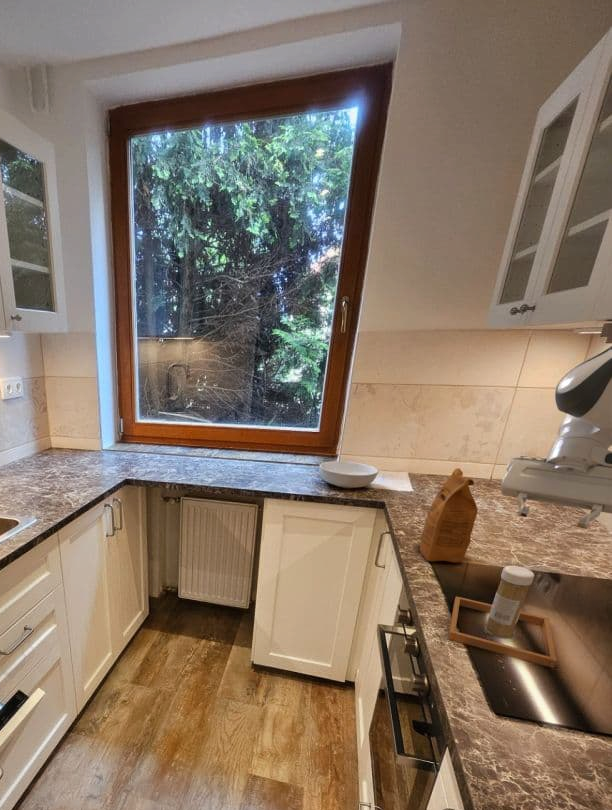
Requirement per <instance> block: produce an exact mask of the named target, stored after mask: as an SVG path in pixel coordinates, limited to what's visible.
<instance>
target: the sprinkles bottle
mask: <svg viewBox="0 0 612 810" xmlns="http://www.w3.org/2000/svg"><path fill="white" fill-rule="evenodd" d="M534 578H535V573H534V572H533V571H532V570H530V569H529V568H526V567H523V566H517V565H507V566H504V567H503V569H502V572H501V574H500V581H499V584H498V587H497V590H496V592H495V595H494V598H493V602H492V604H491V605H492V607H491V610H490V613H488V618H487V621H486V623H485V625H484V627H483V629H484V631H485V632H486V633H488V634H489V635H490V636H493V637H495V638H500V639H512V638H513V636H514V635H513V633H514V631H515V628H516V625H517V623H518V622H519V620H518V618H519V616H520V613H521V612H522V610H523V609H522V608H523V605H524V603H525V600H526V598H527V594H528V591H529V588H530V587H531V585H532V584H533V581H534Z"/></svg>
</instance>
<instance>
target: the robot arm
mask: <svg viewBox="0 0 612 810" xmlns="http://www.w3.org/2000/svg"><path fill="white" fill-rule="evenodd" d="M554 400H555V405H556V407H557V410H558V411H560V412H561V413H565V414H564V416H563V418H562V419H561V422H560V424H559V426H558V429H557V438H556V439H555V440H554V442H553V443H552V445H551V446H550V449H549V451H548V454H547V456H546V458H542V457H530V456H527V455H521V456H519V457H515V458H512V459H510V460H509V462H508V463H507V466H506V474H505V475H504V477H503V479H502V481H501V483H500V493H501V494H502V496H505V497H510V498H516V499H517V500H516V503H517V506H518V508H519V509H518V513H517V516H518V517H520V518H521V517H522V518H527V517H528V514H529V512H530V507H531V506H529V505H526V502H527V500H528V501H534V502H539V503H546V504H551V505H558V506H564V507H570V508H574V509H575V508H577V509H583V510H588V511H590V513H589V514H588V515H580V518H579V520H578V522H577V524H576V525H577V526H576V528H581V529H588V526H589V524H590V522H592V521H594V520H595V519H597V518H598V517H600V515H601V513H606V514H612V450H609V448H610V447H612V345H611V346H609V347H608V348H607V349H605V350H603V351H602V352H600V353H598V354H596V355H594V356H593V357H591V358H589V359H587V360H585V361H583V362H581V363H580V364H578V365H576V366H575V367H574V368H572V369H571V370H569V371H568V372H567V373H566V374H565V375H564V376H563V377H561V379H560V380H559V381H558V383H557V385H556V387H555V393H554Z"/></svg>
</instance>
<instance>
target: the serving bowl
mask: <svg viewBox="0 0 612 810" xmlns="http://www.w3.org/2000/svg"><path fill="white" fill-rule="evenodd" d="M318 469H319V470H318V471H319V475H320V477H321V478H322V479H323V480H324V481H325V482H327V483H328V484H330V485H332V486H335V487H338V488H343V489H356V488H362V487H363V488H364V487H366V486H368V485H370V484H371V483H373V482H374V481H375V480H376V478H377V476H378V473H379V470H378V468H376V467H374V466H372V465H370V464H365V463H360V462H354V461H346V460H345V461H342V460H332V461H325V462H322V463H320V464H319V467H318Z"/></svg>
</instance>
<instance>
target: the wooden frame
mask: <svg viewBox="0 0 612 810" xmlns="http://www.w3.org/2000/svg"><path fill="white" fill-rule="evenodd" d="M460 607H464V608H468V609H471V610H472V609H473V610H476V611H480V612H485V613H488V614H489V613H490V610H491V607H492V604H491V603H486V602H482V601H477V600H472V599H469V598H465V597H460V596H455V598H454V601H453V607H452V613H451V619H450V624H449V625H450V626H449V631H448V636H447V637H448V638H447V639H448V640H451V641H454V642H458V643H461V644H464V645H469V646H472V647H475V648H479V649H482V650H487V651H490V652H493V653H497V654H500V655H504V656H508V657H512V658H514V659H515V658H516V659H518V660H522V661H526V662H530V663H532V664H533V663H534V664H536V665H541V666H545V667H547V668H552V669H554V668H555V666H556V664H557V661H558V660H557V656H556V649H555V644H554V643H555V642H554V639H553V633H552V627H551V622H550V621H551V620H550V618H549V617H546V616H541V615H538V614H532V613H528V612H524V611H521V613H520V616H519V618H518V621H521V622H525V623H528V624H534V625H538V626H541V630H542V637H543V645H544V650H545V654H541V653H537V652H533V651H529V650H527V649H522V648H519V647H515V646H511V645H507V644H504V643H499V642H496V641H492V640H489V639H484V638H481V637H477V636H473V635H470V634H466V633H463V632H459V631H456V629H457V623H458V617H459V610H460V609H459V608H460Z"/></svg>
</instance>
